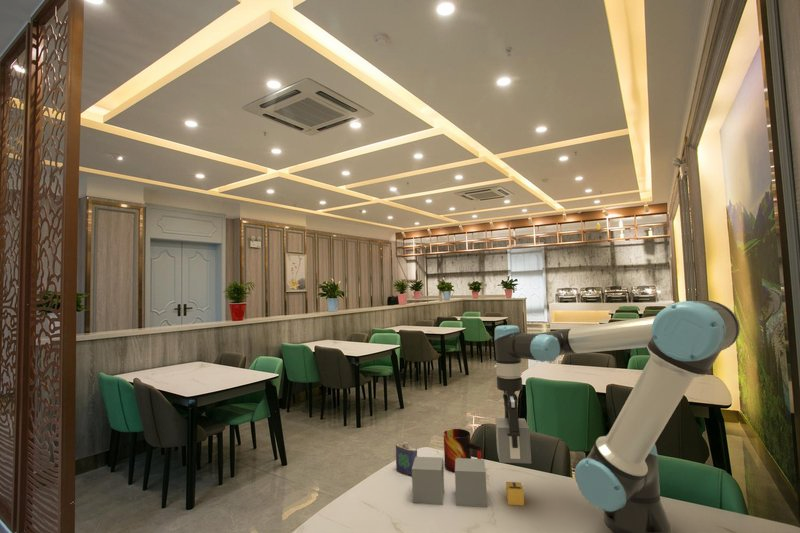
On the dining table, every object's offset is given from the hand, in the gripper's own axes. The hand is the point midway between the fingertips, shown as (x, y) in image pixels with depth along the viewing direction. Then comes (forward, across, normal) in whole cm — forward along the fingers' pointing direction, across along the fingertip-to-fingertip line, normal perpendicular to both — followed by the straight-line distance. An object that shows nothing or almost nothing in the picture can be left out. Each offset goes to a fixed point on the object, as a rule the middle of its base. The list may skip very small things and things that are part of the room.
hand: (513, 451), depth 118 cm
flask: (+14, -15, -36) cm, 41 cm away
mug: (+15, -21, -16) cm, 30 cm away
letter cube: (+15, 0, 0) cm, 15 cm away
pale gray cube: (+14, 0, -13) cm, 20 cm away
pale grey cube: (+1, 0, 0) cm, 1 cm away
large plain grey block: (+14, 0, -26) cm, 30 cm away
